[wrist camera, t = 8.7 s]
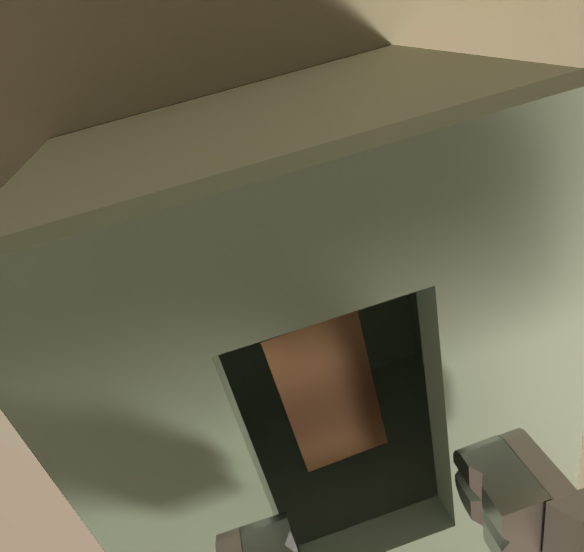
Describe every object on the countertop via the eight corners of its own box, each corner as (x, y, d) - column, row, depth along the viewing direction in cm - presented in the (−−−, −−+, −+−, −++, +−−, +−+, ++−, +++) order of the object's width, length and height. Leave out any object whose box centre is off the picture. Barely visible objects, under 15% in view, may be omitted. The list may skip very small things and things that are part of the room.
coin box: (48, 139, 16) (-92, 283, 7) (392, 44, 17) (626, 74, 8) (187, 431, 23) (199, 682, 14) (425, 352, 24) (570, 541, 15)
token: (234, 255, 16) (260, 342, 12) (306, 231, 16) (356, 308, 12) (275, 367, 19) (308, 472, 14) (336, 345, 19) (387, 442, 15)
